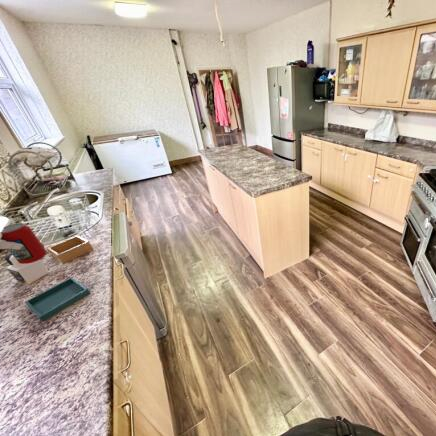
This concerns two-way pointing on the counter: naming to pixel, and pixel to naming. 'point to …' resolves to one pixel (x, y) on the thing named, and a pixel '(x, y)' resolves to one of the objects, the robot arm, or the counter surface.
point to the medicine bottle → (26, 270)
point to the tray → (57, 298)
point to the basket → (70, 249)
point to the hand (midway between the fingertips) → (24, 240)
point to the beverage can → (24, 243)
